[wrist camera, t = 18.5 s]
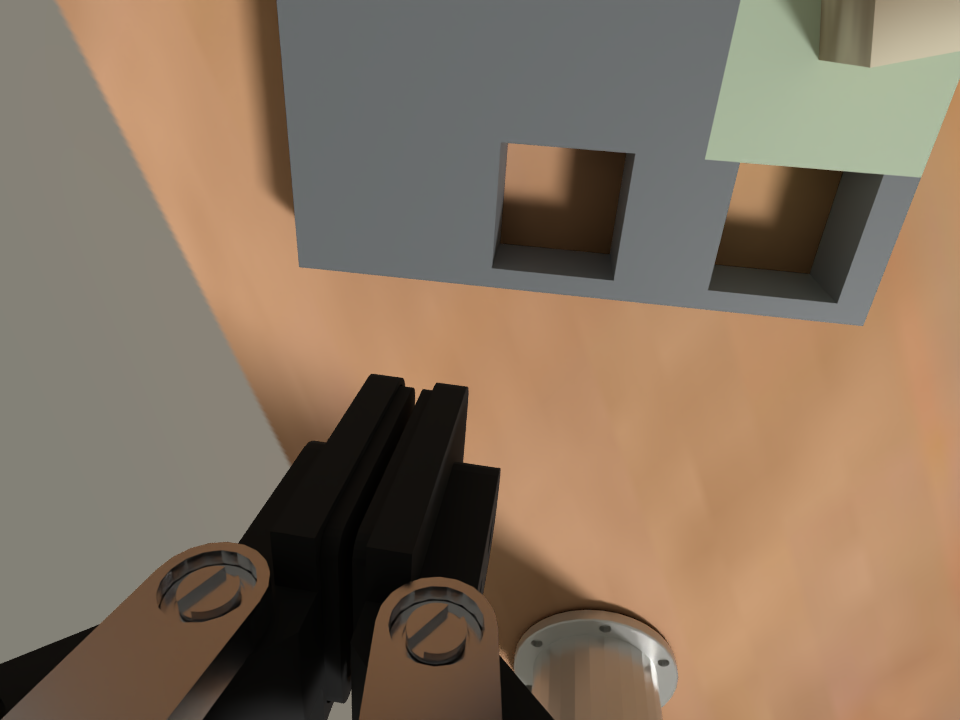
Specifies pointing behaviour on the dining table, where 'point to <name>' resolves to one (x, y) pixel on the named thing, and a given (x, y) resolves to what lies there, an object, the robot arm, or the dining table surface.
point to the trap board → (596, 141)
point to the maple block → (887, 30)
